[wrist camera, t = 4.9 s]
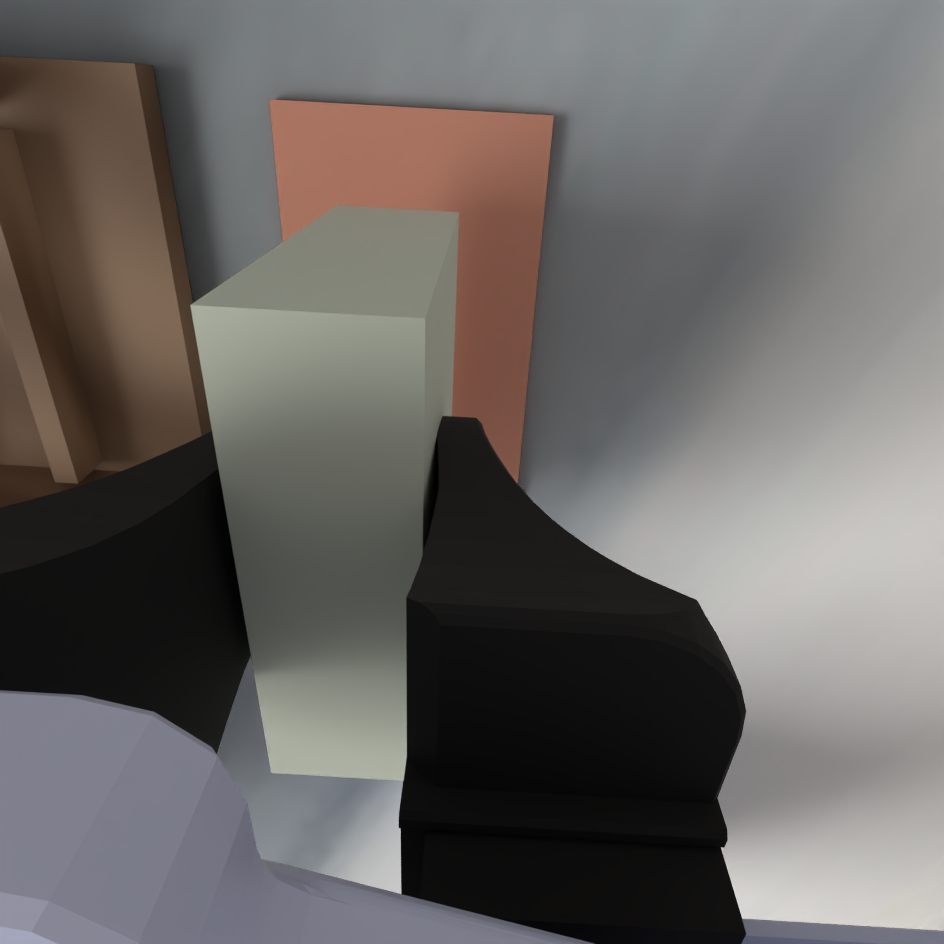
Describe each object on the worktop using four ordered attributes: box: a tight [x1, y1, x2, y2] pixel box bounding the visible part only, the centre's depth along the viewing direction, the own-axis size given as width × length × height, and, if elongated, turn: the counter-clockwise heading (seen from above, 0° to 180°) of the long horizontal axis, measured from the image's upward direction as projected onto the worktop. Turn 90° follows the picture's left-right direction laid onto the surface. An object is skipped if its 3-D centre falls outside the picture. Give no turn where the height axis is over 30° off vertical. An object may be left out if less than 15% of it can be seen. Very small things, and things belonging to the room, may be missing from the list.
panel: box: [190, 205, 459, 781], centre depth 11 cm, size 8×2×7 cm, turn 177°
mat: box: [269, 99, 554, 484], centre depth 16 cm, size 11×6×1 cm, turn 177°
